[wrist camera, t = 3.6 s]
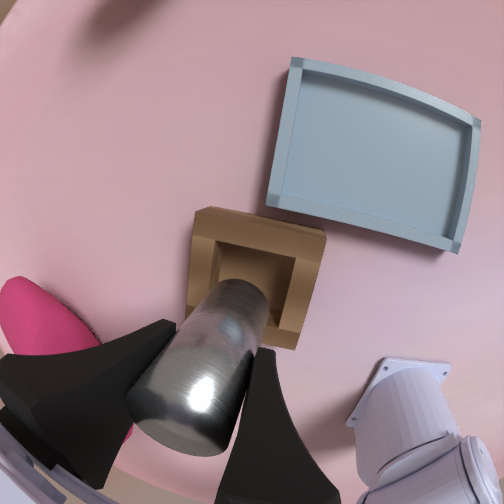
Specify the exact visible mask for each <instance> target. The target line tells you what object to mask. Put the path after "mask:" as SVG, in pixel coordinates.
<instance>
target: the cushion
mask: <svg viewBox="0 0 504 504" xmlns="http://www.w3.org/2000/svg"><path fill="white" fill-rule="evenodd" d="M0 325H1V328H2V330H3V333H4V335H5V337H6V339H7V341H8V343H9V345H10V347H11V349H12V350H13V352H14V354H19V355H51V354H60V353H67V352H73V351H79V350H83V349H87V348H91V347H95V346H98V345H101V344H100V343H99V342H98V340H97V339H96V338H95V337H94V335H93V334H92V333H91V331H90V330H89V329H88V328H87V326H86V325H85V324H84V323H83V322H82V321H81V320H79V319H78V318H77V317H76V316H75V315H74V314H73V313H72V312H71V311H69V310H68V309H67V308H66V307H65V306H64V305H63V304H62V303H60V302H59V301H58V300H57V299H56V298H54V297H53V296H52V295H51V294H49V293H48V292H46V291H45V290H43V289H42V288H41V287H39V286H38V285H37V284H35V283H34V282H32V281H30V280H28V279H27V278H24V277H22V276H17V277H14V278H11V279H9V280H7V281H6V283H5V284H4V286H3V287H2V289H1V292H0ZM133 424H134V423H133ZM132 429H133V425H132V427H131V428H130V430H129V432H128V434H127V436H126V438H125V440H124V442H125V441H126V440H127V439H128V438H129V437H130V435H131V433H132ZM124 442H123V443H124Z"/></svg>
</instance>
